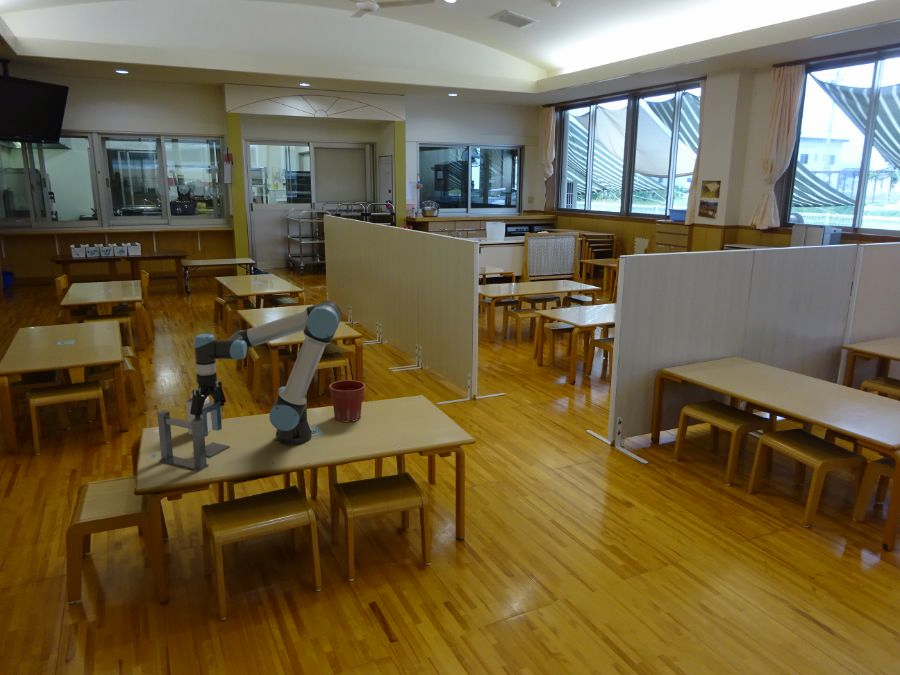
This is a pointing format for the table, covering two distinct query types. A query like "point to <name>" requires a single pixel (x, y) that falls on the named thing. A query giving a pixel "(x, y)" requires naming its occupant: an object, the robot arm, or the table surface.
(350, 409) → the flower pot
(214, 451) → the mat
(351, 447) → the table surface
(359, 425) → the table surface
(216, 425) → the bracket
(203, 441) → the rail
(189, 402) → the milk carton
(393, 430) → the table surface
